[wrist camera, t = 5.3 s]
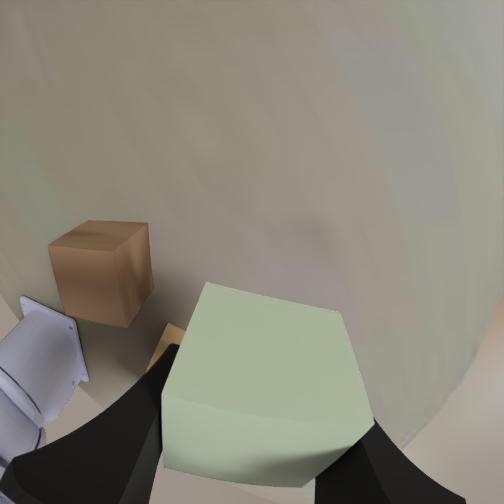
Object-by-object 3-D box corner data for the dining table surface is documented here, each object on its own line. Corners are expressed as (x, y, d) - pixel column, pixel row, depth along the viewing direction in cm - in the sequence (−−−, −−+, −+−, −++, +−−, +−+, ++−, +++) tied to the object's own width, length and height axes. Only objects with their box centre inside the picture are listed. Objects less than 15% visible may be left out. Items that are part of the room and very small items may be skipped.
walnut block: (154, 287, 20) (127, 328, 15) (98, 280, 20) (65, 314, 15) (148, 222, 18) (113, 251, 13) (89, 220, 18) (47, 245, 13)
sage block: (296, 393, 12) (301, 487, 7) (191, 373, 12) (163, 466, 7) (339, 311, 10) (374, 424, 5) (206, 281, 10) (161, 394, 5)
